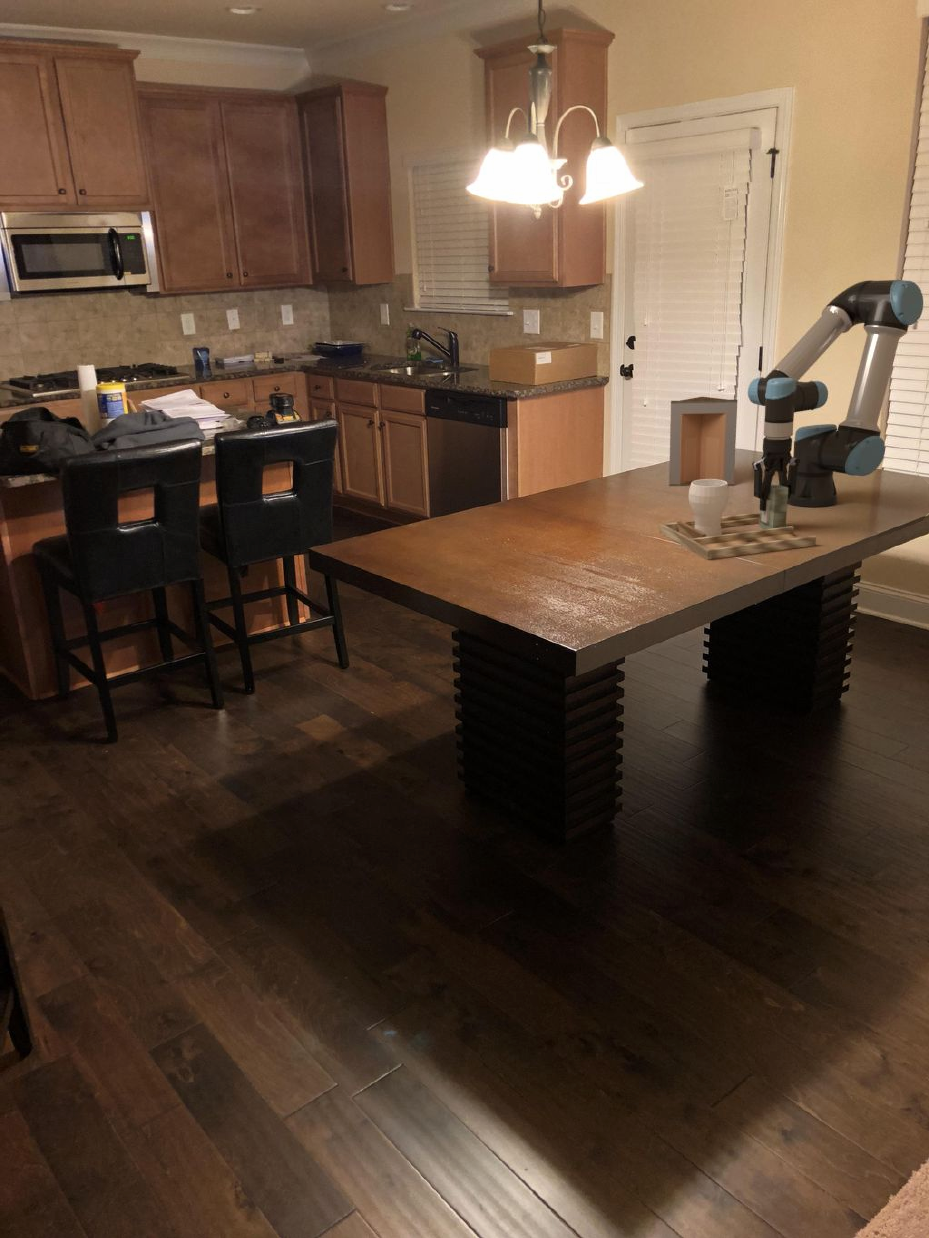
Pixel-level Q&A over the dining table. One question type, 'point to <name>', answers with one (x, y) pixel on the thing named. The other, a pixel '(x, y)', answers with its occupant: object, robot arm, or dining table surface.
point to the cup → (708, 504)
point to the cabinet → (702, 440)
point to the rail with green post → (776, 518)
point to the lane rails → (738, 540)
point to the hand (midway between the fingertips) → (772, 520)
